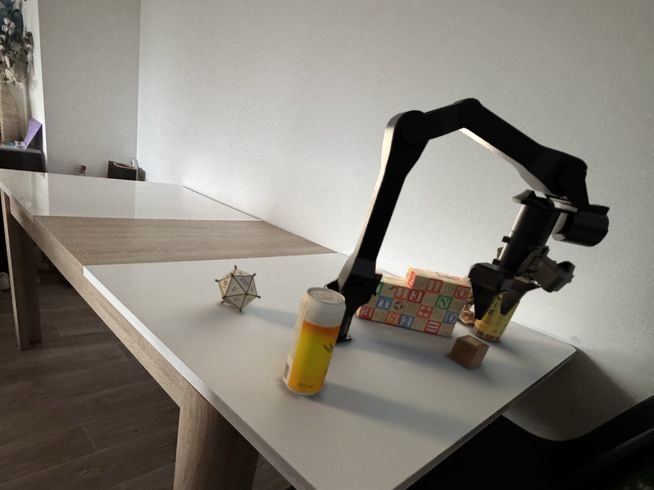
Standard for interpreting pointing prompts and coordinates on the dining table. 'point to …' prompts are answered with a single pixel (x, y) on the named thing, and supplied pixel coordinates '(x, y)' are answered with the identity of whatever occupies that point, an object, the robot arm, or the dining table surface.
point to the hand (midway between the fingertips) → (490, 316)
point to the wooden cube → (468, 351)
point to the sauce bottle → (493, 321)
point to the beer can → (314, 340)
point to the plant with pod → (471, 301)
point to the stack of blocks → (418, 301)
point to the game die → (238, 288)
